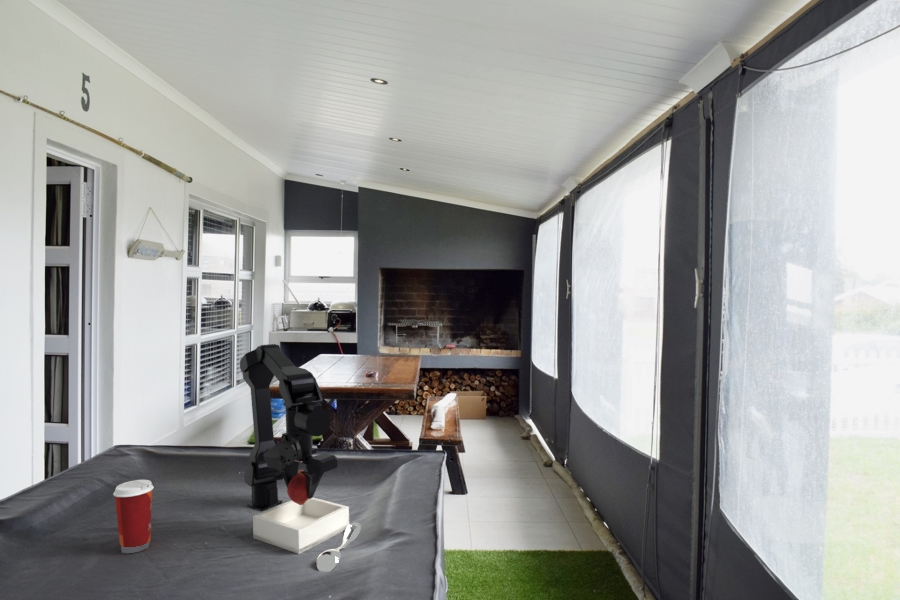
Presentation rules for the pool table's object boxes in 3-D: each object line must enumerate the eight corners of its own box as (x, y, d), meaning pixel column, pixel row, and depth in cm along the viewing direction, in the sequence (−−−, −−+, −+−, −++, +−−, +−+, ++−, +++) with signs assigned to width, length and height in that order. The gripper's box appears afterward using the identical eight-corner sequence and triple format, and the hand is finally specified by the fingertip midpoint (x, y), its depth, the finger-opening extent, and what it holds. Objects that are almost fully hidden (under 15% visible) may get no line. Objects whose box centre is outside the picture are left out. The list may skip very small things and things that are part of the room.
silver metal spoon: (345, 513, 130) (365, 513, 129) (346, 528, 130) (366, 528, 129) (312, 559, 110) (335, 560, 109) (313, 576, 110) (335, 578, 109)
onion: (306, 510, 124) (306, 474, 124) (283, 509, 125) (282, 473, 125) (318, 500, 130) (317, 466, 130) (295, 499, 131) (294, 465, 131)
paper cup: (163, 542, 124) (161, 480, 124) (133, 558, 117) (131, 492, 117) (136, 538, 127) (134, 477, 127) (106, 553, 120) (103, 488, 120)
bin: (253, 538, 126) (252, 516, 126) (304, 515, 138) (304, 495, 138) (299, 554, 117) (298, 530, 117) (349, 528, 130) (348, 506, 130)
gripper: (242, 430, 126) (244, 499, 126) (299, 441, 116) (301, 516, 116) (282, 420, 135) (284, 484, 135) (338, 429, 125) (340, 499, 125)
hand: (300, 495), depth 128 cm, fingers closed on onion, 6 cm apart
